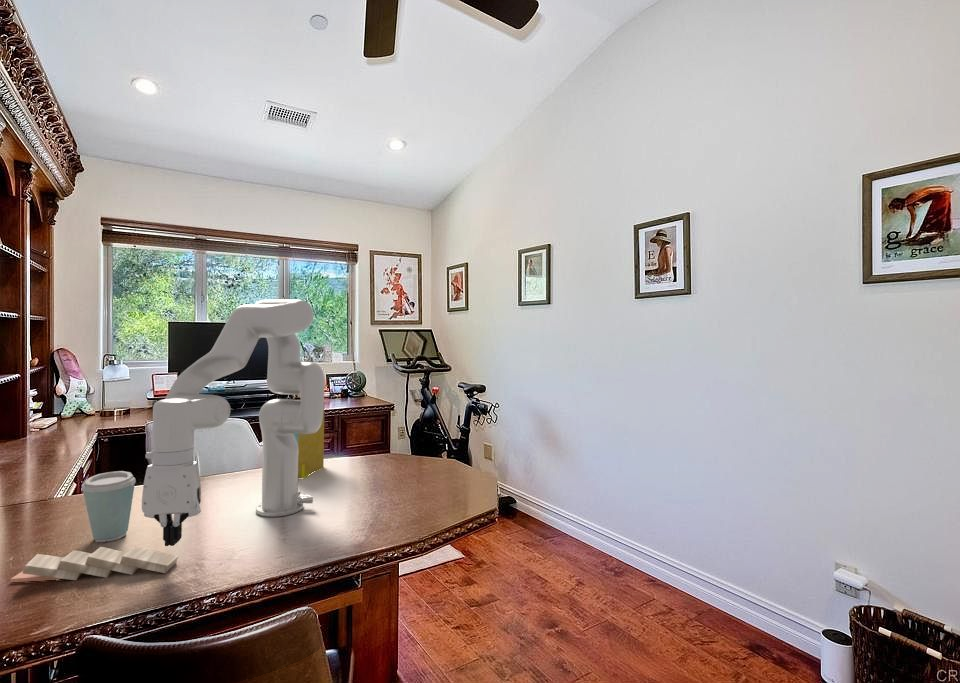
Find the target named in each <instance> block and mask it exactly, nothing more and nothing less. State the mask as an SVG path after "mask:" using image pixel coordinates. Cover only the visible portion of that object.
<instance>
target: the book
mask: <svg viewBox="0 0 960 683" xmlns="http://www.w3.org/2000/svg"><path fill="white" fill-rule="evenodd" d="M293 435H294V437H295V439H296V441H297V444H298V478H304V479H306V478H308V477H309V476H310V475H309V474H311V473H312V472H314V471H317V470H319V469H321V468H323V469H324V460H325V458H324V457H325V456H324V455H325V454H324V453H325V450H324V448H325V404H324V405H323V419H322V424H321V426H320V428H319V430H318V431H317V432H315V433H313V434H293ZM321 470H322V469H321ZM319 471H320V470H319ZM317 472H318V471H317ZM308 475H309V476H308ZM311 475H312V474H311ZM307 476H308V477H307ZM305 477H306V478H305Z"/></svg>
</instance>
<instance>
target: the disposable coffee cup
mask: <svg viewBox="0 0 960 683" xmlns="http://www.w3.org/2000/svg"><path fill="white" fill-rule="evenodd" d="M136 483H137V480H136V478H135V477H134V475H133V474H132V472H130V471H124V470H118V471H117V470H116V471H109V472H108V471H107V472H103V473H98V474H95V475H93V476H90V477H88V478H87V479H86V480H85V481H84V483H83V484H82V485H81V491H82V492H83V496H84V497H83V498H84V501H85V506H86V511H87V515H88V521H89V524H90V525H89V526H90V531H91V534H92V538H93V539H94V541H95V542H96V543H106V541H107V543H108V542H112V541H116V540H119V539H122V538H124V537H125V536H126V535H127V532H128V530H129V526H130V525H129V524H130V519H131V518H130V517H131V511H132V503H133V499H134V491H135V484H136Z"/></svg>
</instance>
